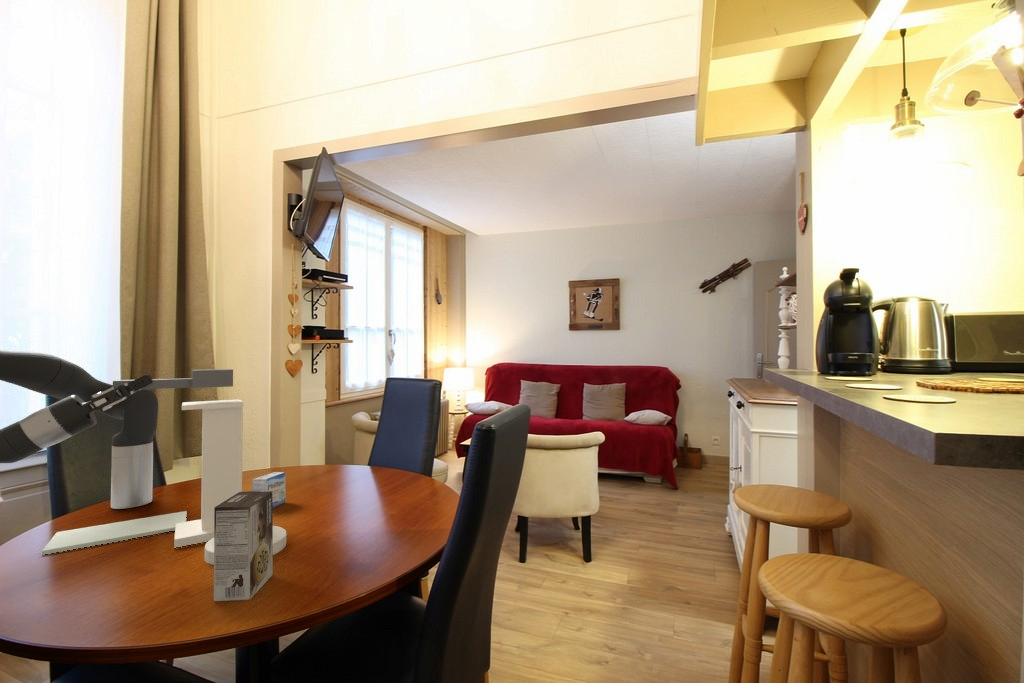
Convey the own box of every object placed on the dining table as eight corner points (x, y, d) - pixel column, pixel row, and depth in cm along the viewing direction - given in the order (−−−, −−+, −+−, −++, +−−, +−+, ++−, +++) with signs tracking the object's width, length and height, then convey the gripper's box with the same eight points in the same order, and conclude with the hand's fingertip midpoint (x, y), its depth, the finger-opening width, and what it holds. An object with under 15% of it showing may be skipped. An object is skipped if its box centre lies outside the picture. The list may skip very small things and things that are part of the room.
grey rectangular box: (238, 576, 88) (239, 491, 88) (273, 575, 88) (274, 489, 89) (211, 602, 78) (212, 506, 79) (250, 600, 79) (251, 505, 79)
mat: (56, 536, 109) (56, 532, 109) (186, 514, 123) (186, 510, 123) (42, 555, 98) (42, 550, 98) (186, 529, 112) (186, 525, 112)
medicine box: (266, 511, 125) (266, 479, 125) (251, 510, 126) (252, 478, 126) (285, 502, 133) (286, 472, 133) (272, 501, 133) (272, 471, 134)
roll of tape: (300, 546, 102) (300, 533, 102) (225, 574, 89) (226, 559, 89) (263, 532, 111) (264, 520, 111) (191, 555, 98) (191, 541, 98)
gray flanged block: (116, 388, 104) (116, 371, 104) (230, 384, 116) (230, 369, 116) (111, 390, 97) (111, 371, 97) (232, 386, 110) (233, 369, 110)
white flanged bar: (175, 531, 111) (177, 402, 112) (243, 519, 119) (244, 398, 120) (174, 548, 101) (175, 406, 102) (247, 534, 109) (248, 402, 110)
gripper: (38, 409, 89) (138, 363, 97) (55, 403, 100) (143, 363, 109) (64, 441, 91) (160, 393, 99) (78, 432, 102) (163, 390, 111)
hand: (151, 378), depth 104 cm, fingers closed on gray flanged block, 4 cm apart
